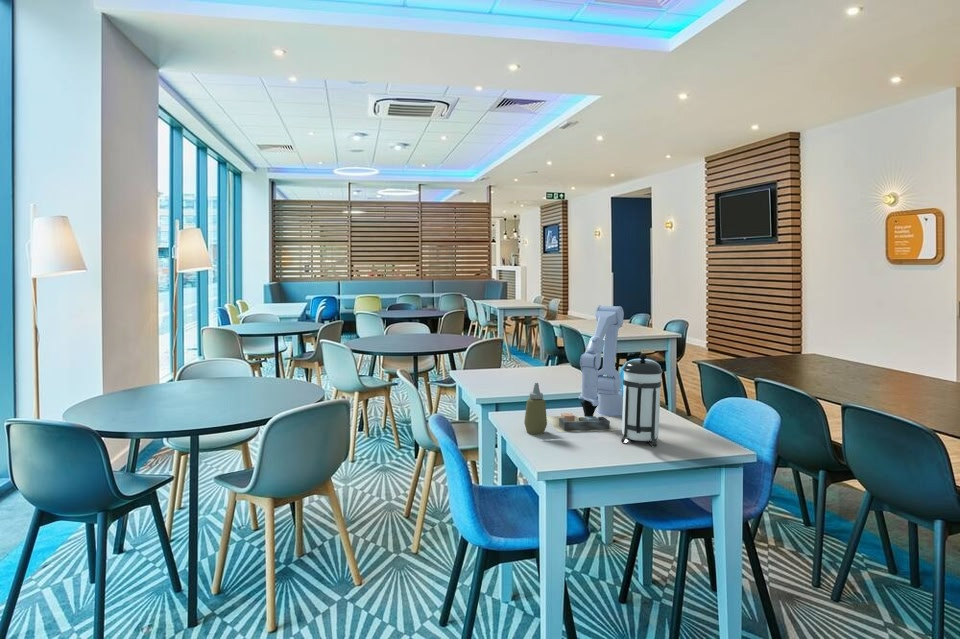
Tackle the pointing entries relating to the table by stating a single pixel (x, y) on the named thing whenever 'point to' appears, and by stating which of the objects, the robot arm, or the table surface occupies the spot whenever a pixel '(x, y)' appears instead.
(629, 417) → the coffee press
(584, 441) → the table surface
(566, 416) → the peach square block
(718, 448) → the table surface
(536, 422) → the squeeze bottle
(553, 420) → the comb board
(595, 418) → the slate-blue plug
